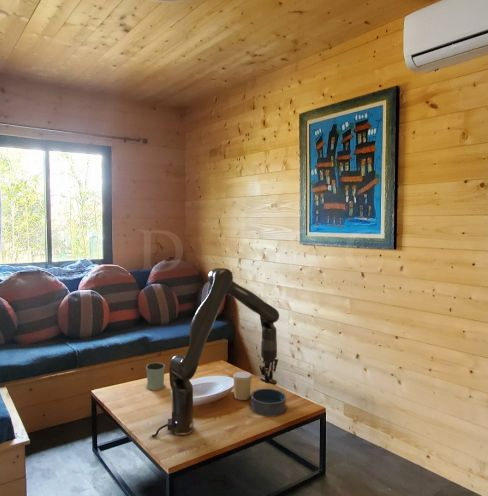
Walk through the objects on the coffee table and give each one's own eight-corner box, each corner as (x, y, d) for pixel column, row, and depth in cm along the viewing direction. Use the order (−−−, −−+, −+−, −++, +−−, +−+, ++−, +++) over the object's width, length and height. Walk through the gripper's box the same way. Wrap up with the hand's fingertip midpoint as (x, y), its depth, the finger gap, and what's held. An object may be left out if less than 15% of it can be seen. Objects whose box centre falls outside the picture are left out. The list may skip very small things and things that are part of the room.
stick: (259, 381, 208) (259, 376, 208) (262, 380, 210) (262, 375, 210) (275, 386, 203) (275, 381, 203) (277, 384, 205) (277, 379, 205)
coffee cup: (251, 393, 224) (251, 371, 223) (250, 401, 215) (251, 378, 213) (233, 392, 225) (234, 370, 224) (232, 400, 215) (232, 377, 214)
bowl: (254, 416, 199) (254, 404, 198) (248, 400, 215) (248, 389, 215) (289, 415, 201) (289, 402, 200) (280, 399, 217) (281, 388, 217)
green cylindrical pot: (159, 381, 238) (158, 361, 236) (168, 387, 230) (168, 366, 229) (142, 386, 231) (142, 365, 230) (152, 392, 223) (152, 370, 222)
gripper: (270, 342, 213) (269, 375, 214) (254, 349, 202) (254, 384, 204) (283, 345, 208) (282, 379, 210) (267, 353, 197) (267, 388, 199)
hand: (268, 381), depth 207 cm, fingers closed on stick, 2 cm apart
